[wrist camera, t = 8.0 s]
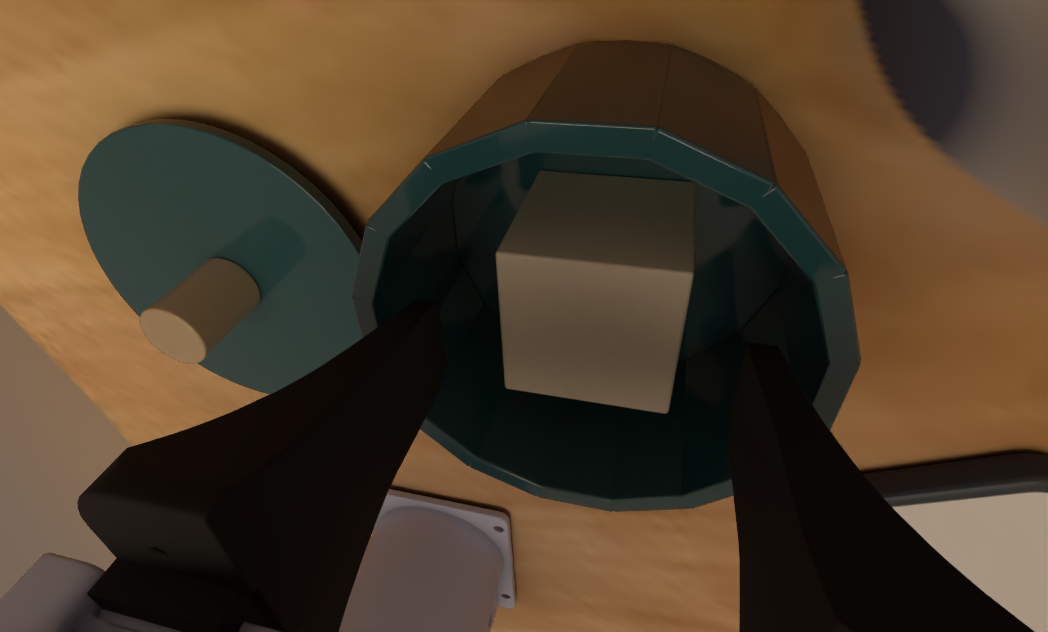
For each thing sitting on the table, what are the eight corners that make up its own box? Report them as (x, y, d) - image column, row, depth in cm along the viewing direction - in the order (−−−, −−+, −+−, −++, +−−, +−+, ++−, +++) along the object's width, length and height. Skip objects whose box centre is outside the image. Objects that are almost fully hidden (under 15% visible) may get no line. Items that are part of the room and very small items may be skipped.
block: (675, 309, 18) (668, 415, 15) (540, 293, 19) (504, 389, 16) (696, 180, 16) (694, 273, 12) (539, 169, 16) (493, 252, 13)
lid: (416, 400, 25) (373, 482, 22) (180, 360, 27) (109, 428, 24) (358, 122, 17) (278, 183, 14) (39, 103, 20) (-91, 150, 17)
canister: (762, 391, 20) (778, 545, 15) (458, 347, 22) (396, 470, 18) (874, 46, 13) (963, 144, 9) (416, 34, 15) (297, 106, 11)
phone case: (776, 476, 23) (876, 675, 29) (780, 511, 21) (884, 710, 28) (1062, 436, 18) (1104, 679, 25) (1088, 476, 17) (1124, 721, 24)
